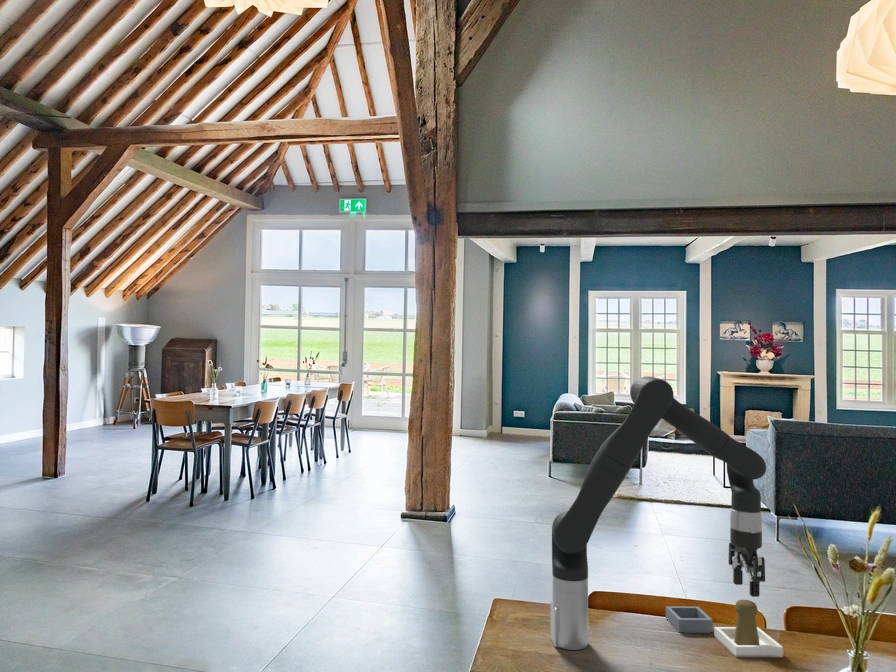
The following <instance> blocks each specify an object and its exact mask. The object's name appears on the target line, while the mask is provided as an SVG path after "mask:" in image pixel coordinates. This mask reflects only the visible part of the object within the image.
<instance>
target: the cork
mask: <svg viewBox="0 0 896 672" xmlns="http://www.w3.org/2000/svg"><path fill="white" fill-rule="evenodd" d="M734 608H735V611H736V612H737V618H736V624H735V625H736V626H735V627H736V631H735V639H734V642H735V643H736V644H737V645H759V638H758V631H757V627H758V625H757V619H756V615H758V606H757V604H756V603H755V602H753V601H751V600H749V599H748V600H747V599H739V600H737V601H735V607H734Z"/></svg>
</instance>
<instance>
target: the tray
mask: <svg viewBox="0 0 896 672" xmlns="http://www.w3.org/2000/svg"><path fill="white" fill-rule="evenodd" d="M735 631H736V626H713V637H714V638H715V639H716V640H717V641H718V642H719V643H720V644H721V645H722V646H723V647H724V648H725V649H726V650H728V652H730V653H731V654H732V655H733V656H734V657H735V658H784V647H783V646H782V645H781V644H780V643H779V642H778V641H776V640H775V639H774V638H772V637H771V636H770V635H769V634H767V633H766V632H765V631H763V630H762V629H761V628H760V627H758V626H757V631H758V638H759V645H737V644H736V643H735V642H734V639H735Z"/></svg>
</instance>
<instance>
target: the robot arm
mask: <svg viewBox="0 0 896 672" xmlns="http://www.w3.org/2000/svg"><path fill="white" fill-rule="evenodd" d="M629 393H630V399H631V400H632V403H633V406H632V408H631V410H630V411H629V413H628V414H627V416H626V418H625V420H624V421H623V422H622V423H621V424H620V425H619V426H618V427H617V428H616V429H615V430H614V431H613V432H612V433H611V434H610V435H609V436H608V437H607V438H606V439H605V440H604V441H603V443H602V444H601V445H600V447H599V449H598V450H597V451H596V454H595V455H594V457H593V459H592V460H591V462H590V464H589V466H588V469H587V470H586V473H585V476H584V479H583V481H582V484H581V487H580V490H579V493H578V494H577V496H576V498H575V500H574V501H573V503H572V504H571V506H570V507H569V509H568V511H567V510H566V511H563V512H560V513H559V514H558V515H556V517H555V518H554V520H553V522H552V524H551V564H552V565H551V567H552V577H551V579H552V585H551V586H552V587H551V588H552V598H551V599H552V600H551V601H550V639H551V641H552V644H553V646H554V647H555V648H560V649H563V650H568V651H569V650H570V651H578V650H583V649H586V648H587V646H589V564H588V551H587V549H588V543H589V541H590V539H591V537H592V534H593V532H594V530H595V528H596V525H597V523H598V521H599V519H600V517H601V515H602V514H603V512H604V510H605V508H606V507H607V505H608V504H609V503H610V502H611V500H612V499H613V497H614V496H615V494H616V492H617V491H618V489H619V488H620V486H621V485H622V484H623V482H624V480H625V479H626V477H627V476H628V474H629V472H630V470H631V468H632V466H634V463H635V461H636V459H637V458H638V456H639V454H640V452H641V450H642V449H643V447H644V445H645V443H646V442H647V440H648V438H649V436H650V435H651V433H652V432H653V431H654V429H656V427H657V425H658V423H660V421H661V420H663V421H664V422H666V423H667V424H669V425H671V426H673V427H674V428H675V429H676V430H678V431H679V432H680V433H681V434H683V435H684V437H685V436H686V437H687V438H688V439H689V440H690V441H691V442H693V443H694V444H695V445H696V446H698V447H699V448H701V449H702V450H703V451H704V452H706V453H708V454H709V455H711V456H712V457H713V458H715V459H717V460H719V461H722V462H723V463H725V464H726V474H727V478H728V479H727V480H728V484H729V487H730V491H731V500H730V501H731V504H730V505H731V511H730V523H729V524H730V527H729V529H730V532H729V533H730V535H729V536H730V538H729V539H730V542H729V543H728V564H729V565H730V566H731V569H732V570H733V571H732V573H733V574H732V581H733V584H734V585H736V586H737V585H738V586H742V585H743V579H744V578H743V575H744V573H743V569H744V571H745V572H746V573H747V574H748V575H747V576H748V578H749V596H751V597H752V598H756V597H757V598H758V597H759V596H760V593H761V592H760V590H761V589H760V583H761V582H763V583H764V582H766V563H765V561H766V560H765V557H764V556H758V550H760V549H761V548H762V547H763V519H762V496H761V492H760V490H759V489H758V488H757V487H756V486H755V483H754V480H759V479H761V478H763V476H765V474H766V472H767V465H766V461H765V460H764V458H763V456H761V454H759V453H757V452H756V451H755V450H753V449H752V448H750V447H748V446H747V445H745V444H743V443H741V442H739V441H737V440H736V439H734V438H733V437H731V436H730V435H729V434H728V433H727V432H725V431H724V430H722V429H721V428H720V427H719V426H717V425H715V424H714V423H712V422H711V421H710V420H709V419H707V418H705V417H703V416H701V415H700V414H698V413H696V412H695V411H693V410H691V409H690V408H688V407H686V406H685V405H684V404H682V403H681V402H680V401H678V400H677V399H676V398H675V397H674V394H675V393H674V390H673V387H672V385H671V384H670V382H668V381H666V380H665V379H662V378H658V377H654V376H641V377H638V378H637V379H636V380H634V382H633V383H632V384H631V386H630V390H629Z"/></svg>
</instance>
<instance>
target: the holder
mask: <svg viewBox="0 0 896 672" xmlns="http://www.w3.org/2000/svg"><path fill="white" fill-rule="evenodd" d="M666 618H668V620H669V622H670V623H671V624H672V625H673V626H674V627H675V628H674V627H673V626H672V625H671V624H670V623H669V622H668V623H669V624H670V625H671V626H672V627H673V628H674V629H675V630H676V631H677V633H679V632H684V633H683V634H693V633H694V634H698V633H699V634H702V633H703V634H711V633H710V632H713V633H714V622H713V621H714V620H713V618H712V617H710V616H709V615H708V614H707V613H706V612H705V611H704V610H703V609H702V608H700V607H699V606H679V605H678V606H677V605H676V606H674V605H673V606H671V605H670V606H667V605H666V606H665V619H666Z"/></svg>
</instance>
